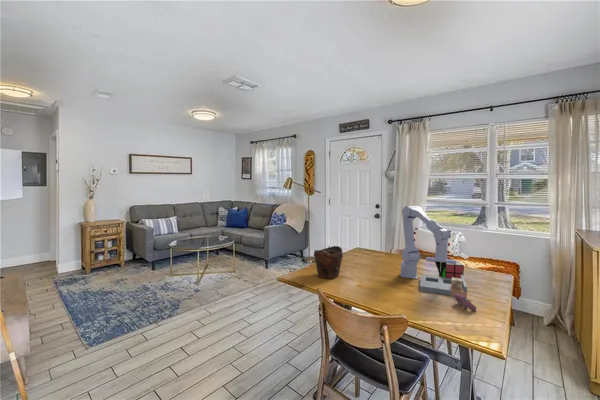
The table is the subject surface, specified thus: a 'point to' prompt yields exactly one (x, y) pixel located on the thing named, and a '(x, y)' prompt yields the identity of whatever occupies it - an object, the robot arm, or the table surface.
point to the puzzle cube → (453, 270)
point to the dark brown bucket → (328, 262)
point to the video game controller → (464, 302)
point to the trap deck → (441, 285)
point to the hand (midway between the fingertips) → (440, 275)
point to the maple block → (456, 283)
